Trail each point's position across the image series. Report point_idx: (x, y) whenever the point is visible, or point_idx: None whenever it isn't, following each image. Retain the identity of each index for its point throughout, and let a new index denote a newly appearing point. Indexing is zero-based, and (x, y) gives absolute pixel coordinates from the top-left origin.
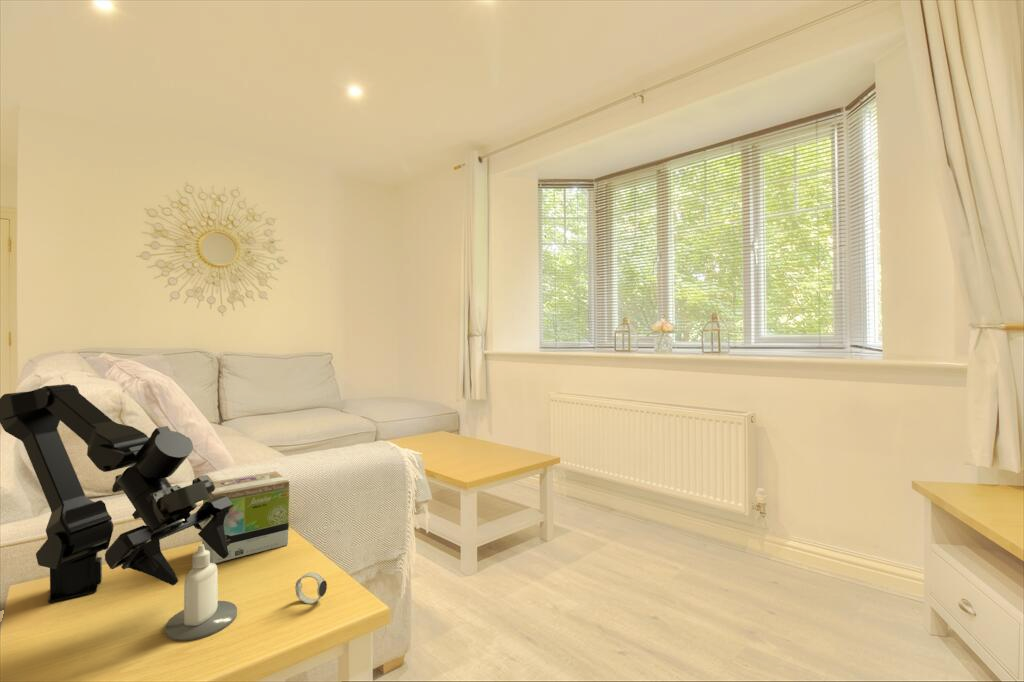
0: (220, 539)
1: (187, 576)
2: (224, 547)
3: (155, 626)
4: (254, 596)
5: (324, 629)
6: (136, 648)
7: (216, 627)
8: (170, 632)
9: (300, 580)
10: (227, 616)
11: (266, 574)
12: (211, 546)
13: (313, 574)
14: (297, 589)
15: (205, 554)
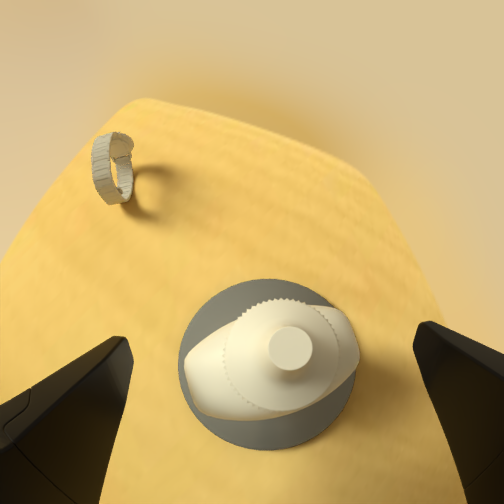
0: (71, 388)
1: (350, 363)
2: (98, 356)
3: (328, 455)
4: (126, 327)
5: (205, 116)
6: (402, 402)
7: (287, 286)
8: (348, 378)
9: (103, 180)
10: (237, 303)
11: (41, 374)
12: (105, 460)
13: (101, 140)
14: (120, 190)
15: (286, 304)
